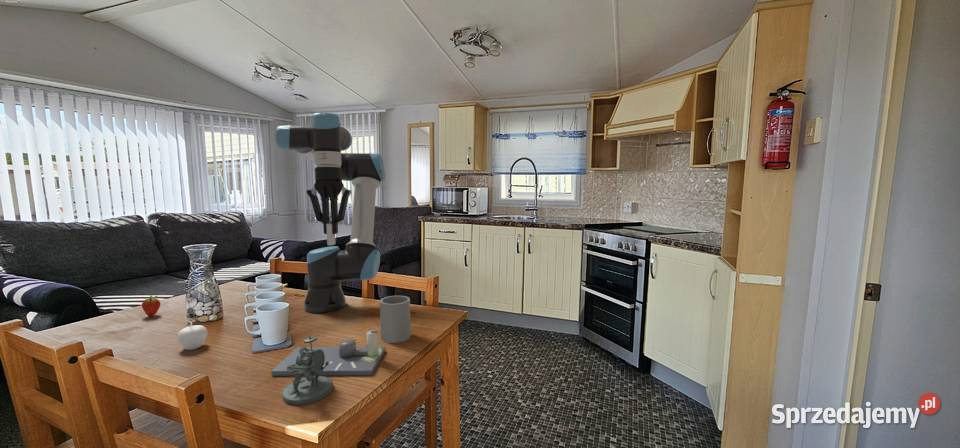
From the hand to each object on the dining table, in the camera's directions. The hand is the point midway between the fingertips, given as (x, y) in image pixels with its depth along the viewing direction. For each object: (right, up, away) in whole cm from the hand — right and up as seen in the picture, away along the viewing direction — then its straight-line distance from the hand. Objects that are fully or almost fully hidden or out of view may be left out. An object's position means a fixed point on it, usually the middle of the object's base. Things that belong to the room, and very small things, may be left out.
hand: (331, 244), depth 115 cm
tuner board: (+6, -31, -14) cm, 34 cm away
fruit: (-74, -28, +22) cm, 82 cm away
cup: (+19, -29, +3) cm, 35 cm away
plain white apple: (-39, -30, -4) cm, 49 cm away
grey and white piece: (+12, -29, -12) cm, 34 cm away
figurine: (+6, -33, -28) cm, 43 cm away
